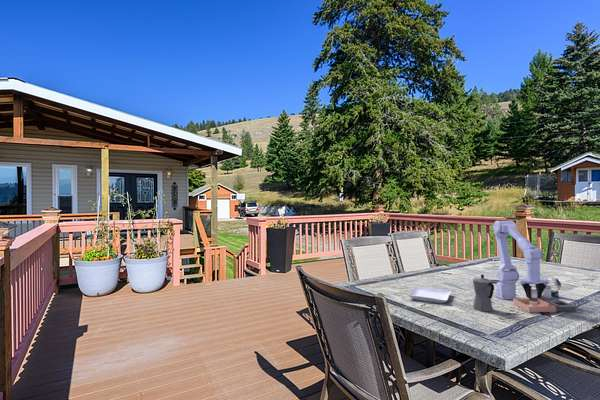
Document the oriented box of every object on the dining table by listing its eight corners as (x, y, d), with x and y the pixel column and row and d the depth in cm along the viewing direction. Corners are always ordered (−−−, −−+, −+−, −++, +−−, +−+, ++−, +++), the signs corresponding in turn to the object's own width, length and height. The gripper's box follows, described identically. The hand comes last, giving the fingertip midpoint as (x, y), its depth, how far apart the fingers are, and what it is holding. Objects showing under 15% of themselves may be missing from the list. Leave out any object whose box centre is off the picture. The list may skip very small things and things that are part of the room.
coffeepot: (466, 305, 185) (466, 272, 185) (483, 304, 186) (482, 271, 186) (485, 315, 170) (484, 279, 169) (502, 314, 170) (502, 278, 170)
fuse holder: (559, 311, 172) (559, 306, 172) (533, 299, 192) (533, 295, 192) (576, 311, 172) (576, 306, 172) (548, 299, 192) (548, 295, 192)
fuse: (546, 303, 185) (545, 286, 185) (541, 301, 189) (541, 285, 189) (553, 303, 185) (552, 286, 185) (548, 301, 189) (548, 285, 189)
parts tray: (529, 312, 172) (529, 306, 172) (513, 304, 185) (513, 298, 185) (555, 312, 171) (555, 306, 171) (538, 303, 185) (538, 298, 185)
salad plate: (452, 295, 204) (452, 290, 204) (447, 306, 186) (447, 299, 186) (415, 291, 215) (415, 285, 215) (407, 300, 196) (407, 294, 196)
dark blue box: (559, 299, 192) (559, 279, 192) (542, 296, 198) (542, 277, 198) (562, 297, 195) (562, 278, 195) (546, 294, 201) (545, 275, 201)
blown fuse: (532, 308, 176) (531, 291, 176) (527, 306, 180) (526, 289, 180) (540, 308, 176) (539, 290, 176) (535, 305, 180) (534, 288, 180)
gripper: (524, 273, 174) (524, 300, 174) (553, 273, 174) (553, 299, 174) (515, 270, 181) (515, 296, 181) (543, 270, 181) (543, 295, 181)
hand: (533, 297), depth 178 cm, fingers open, 5 cm apart
